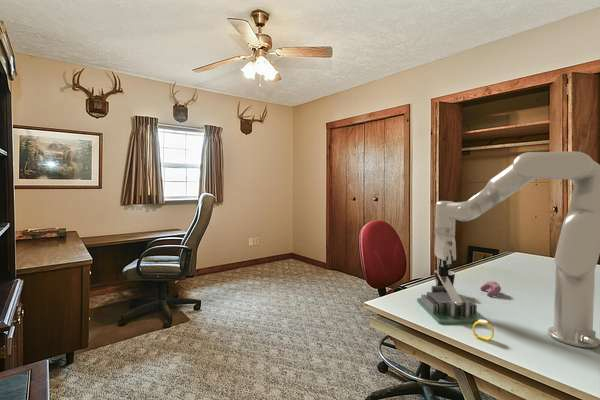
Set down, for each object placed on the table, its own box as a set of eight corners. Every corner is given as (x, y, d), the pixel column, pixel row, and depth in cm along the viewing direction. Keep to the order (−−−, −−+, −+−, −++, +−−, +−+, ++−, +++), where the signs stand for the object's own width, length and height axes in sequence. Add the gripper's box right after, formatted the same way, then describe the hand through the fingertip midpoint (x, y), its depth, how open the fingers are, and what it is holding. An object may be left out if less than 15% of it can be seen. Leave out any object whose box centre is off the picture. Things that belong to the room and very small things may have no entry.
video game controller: (496, 301, 140) (504, 287, 139) (486, 295, 141) (494, 282, 140) (488, 293, 150) (495, 281, 149) (478, 288, 150) (486, 276, 150)
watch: (472, 338, 103) (471, 320, 103) (473, 335, 105) (472, 317, 105) (493, 342, 99) (492, 323, 99) (494, 339, 102) (493, 320, 102)
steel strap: (463, 306, 116) (464, 303, 115) (455, 306, 116) (455, 303, 115) (444, 274, 131) (445, 271, 131) (437, 274, 131) (437, 271, 131)
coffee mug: (435, 289, 151) (435, 269, 151) (455, 292, 147) (455, 271, 146) (432, 296, 141) (432, 274, 141) (453, 300, 137) (453, 277, 137)
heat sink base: (486, 323, 113) (486, 304, 113) (439, 323, 113) (439, 304, 113) (456, 301, 135) (456, 285, 135) (417, 301, 135) (417, 285, 135)
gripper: (463, 234, 120) (461, 281, 121) (445, 228, 135) (444, 270, 135) (443, 234, 120) (442, 281, 121) (428, 228, 135) (427, 270, 136)
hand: (443, 275), depth 128 cm, fingers closed
